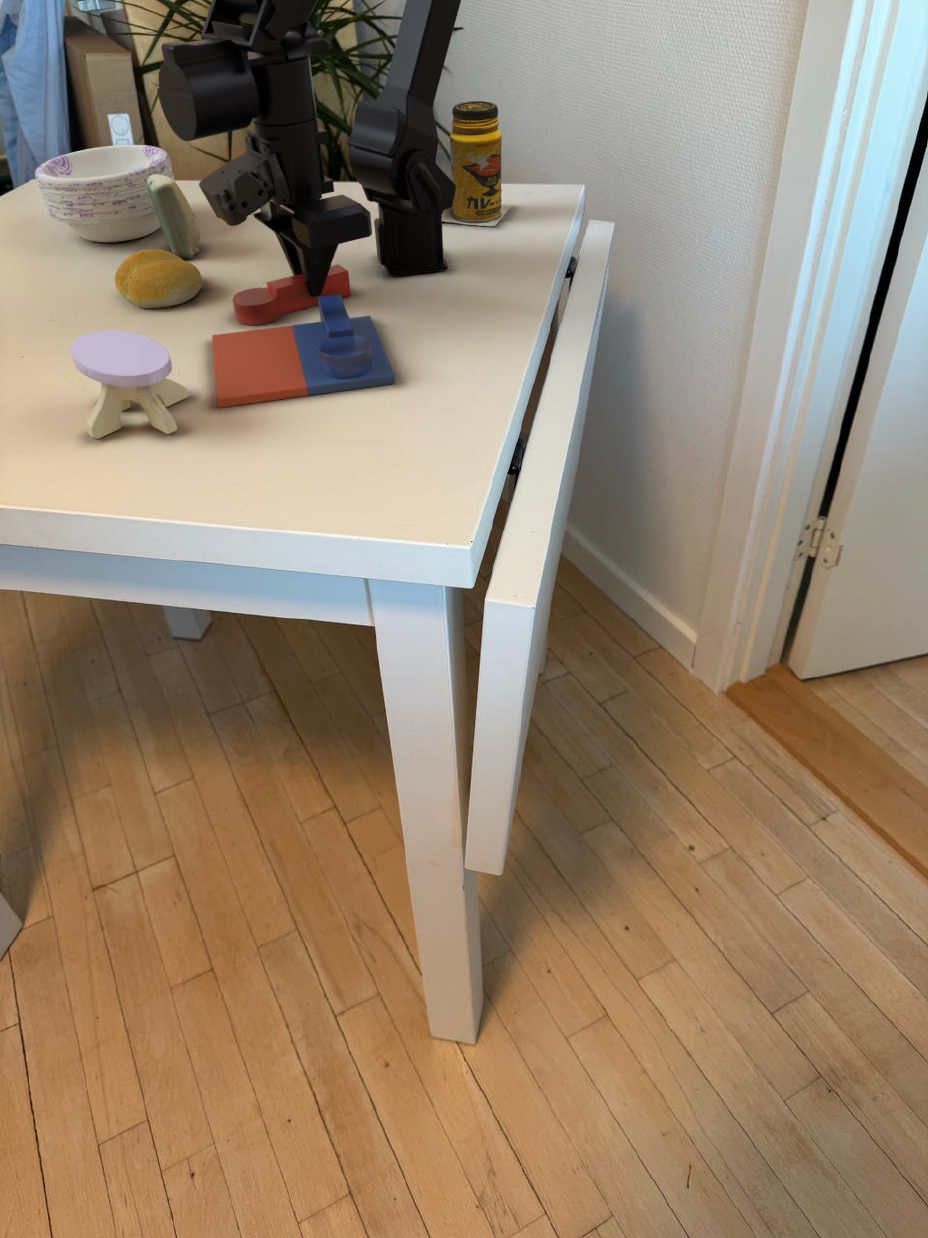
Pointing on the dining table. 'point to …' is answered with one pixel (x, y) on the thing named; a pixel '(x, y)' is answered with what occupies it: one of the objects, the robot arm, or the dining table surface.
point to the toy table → (127, 378)
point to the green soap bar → (174, 216)
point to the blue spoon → (341, 342)
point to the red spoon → (286, 297)
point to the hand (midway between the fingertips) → (310, 291)
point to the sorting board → (287, 363)
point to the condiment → (476, 165)
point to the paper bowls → (104, 190)
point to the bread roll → (157, 279)
